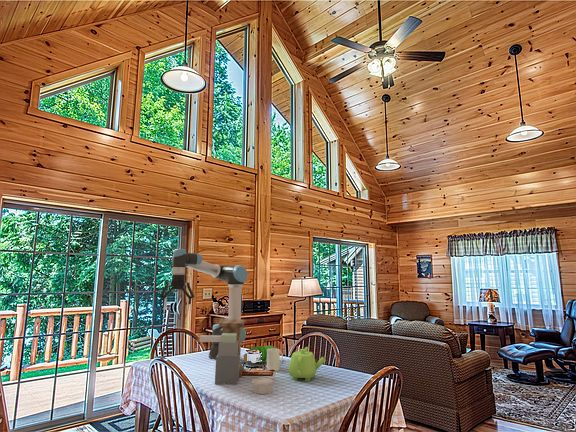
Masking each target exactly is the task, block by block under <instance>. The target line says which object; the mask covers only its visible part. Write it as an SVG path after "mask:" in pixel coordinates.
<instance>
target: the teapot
mask: <svg viewBox="0 0 576 432" xmlns="http://www.w3.org/2000/svg"><path fill="white" fill-rule="evenodd" d="M308 349H309V348H308V346H305V347H304V348H300V349H299V351H297V350H296V351H294V352H293V353H292V354H291V357H290V360H289V362H288V363H289V364H288V373H289V374H288V375H290V377H292V378H291V380H292V381H297V380H298V379H300V378H301V379H304V380H305V382H311V378H313V377H315V375H316V374H317V373H316V372H317V370H318V369H319V368H320V367H321V366H322V365H323V364H324V363H325V362H327V360H326V358H325V357H324V356H321V358H320V359H319V360H318V361H317V362H316V359H315V355H314V353H313V352H312V351H309V350H308Z"/></svg>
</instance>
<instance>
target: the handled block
mask: <svg viewBox="0 0 576 432" xmlns="http://www.w3.org/2000/svg"><path fill="white" fill-rule="evenodd" d="M236 341H237V333H222V335H221V336H213V335H212V334H211V335H207V334H205V335H203V334H201V335H199V343H212V342H221V343H236Z"/></svg>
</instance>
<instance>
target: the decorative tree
mask: <svg viewBox="0 0 576 432" xmlns="http://www.w3.org/2000/svg"><path fill="white" fill-rule="evenodd" d="M270 348H276V349H278V347H275V346H273V345H264V346H263V345H260V346H258V345H256V346H255V347H254V346H251V347H250V349H249V350H259V351H261V352H262V354H261V356H262V357H261V360H262V362H261V363H266V362H267V349H270ZM247 353H248V352H247ZM247 353H244V354H243V360H244V361H245V362H248V361H247Z"/></svg>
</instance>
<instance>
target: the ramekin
mask: <svg viewBox="0 0 576 432" xmlns="http://www.w3.org/2000/svg"><path fill="white" fill-rule="evenodd" d="M251 384H252V391H253V392H254V393H255V394H258V395H268V394H270V393H271V392H273V386H274V379H271V378H266V377H261V378H260V377H258V378H254V379H252V381H251Z"/></svg>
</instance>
